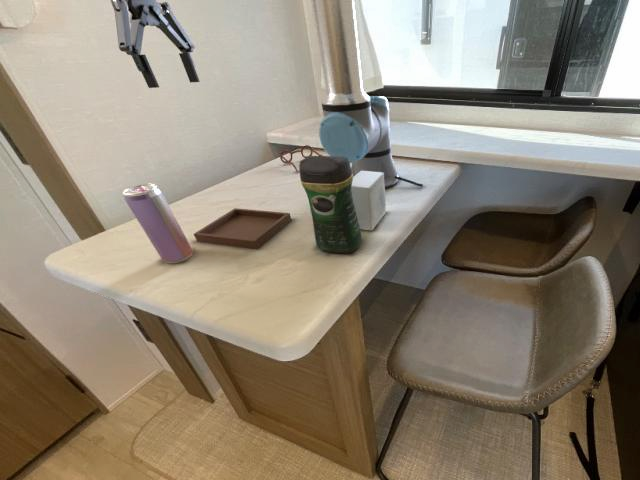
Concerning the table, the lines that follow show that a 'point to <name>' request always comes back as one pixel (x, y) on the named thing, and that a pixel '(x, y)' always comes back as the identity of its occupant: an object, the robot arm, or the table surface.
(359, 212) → the cosmetics box
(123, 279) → the table surface
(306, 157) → the glasses
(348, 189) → the coffee jar
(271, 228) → the tray
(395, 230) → the table surface
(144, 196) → the beverage can
